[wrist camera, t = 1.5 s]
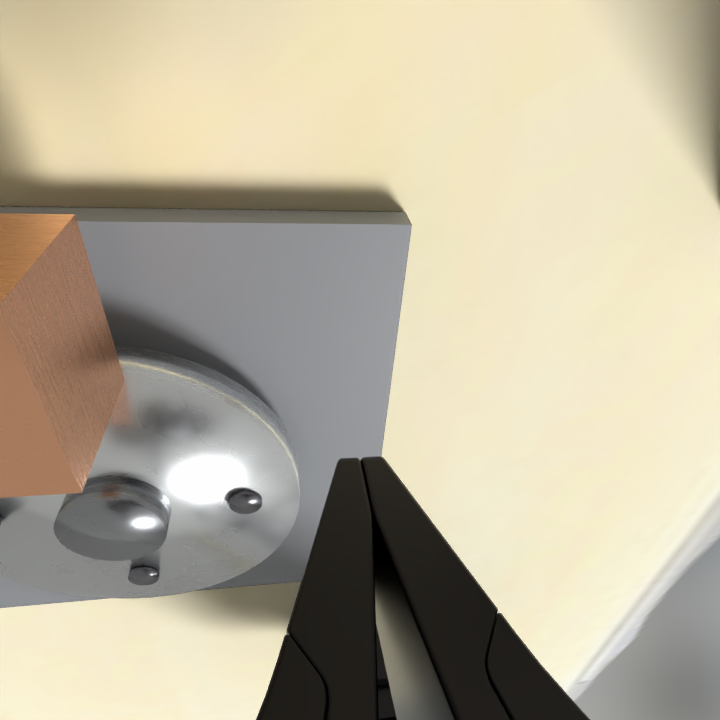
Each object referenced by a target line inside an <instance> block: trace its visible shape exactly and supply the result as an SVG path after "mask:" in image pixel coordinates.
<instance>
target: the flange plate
mask: <svg viewBox="0 0 720 720" xmlns="http://www.w3.org/2000/svg"><path fill="white" fill-rule="evenodd" d="M299 499H300V491H299V468H298V459H297V454H296V451H295V448H294V445H293V442H292V439H291V438H290V436H289V434H288V432H287V430H286V428H285V427H284V425H283V424H282V423H281V421H280V420H279V419H278V417H277V416H276V415H275V414H274V412H273V411H272V410H271V409H270V408H269V407H268V406H267V405H266V404H265V403H264V402H263V401H262V400H260V399H259V398H258V397H257V396H256V395H254V394H253V393H252V392H250V391H249V390H248V389H246V388H245V387H244V386H242V385H241V384H239V383H238V382H236V381H234V380H232V379H231V378H229V377H227V376H225V375H224V374H222V373H220V372H218V371H216V370H214V369H211V368H209V367H207V366H205V365H202V364H200V363H198V362H196V361H193V360H190V359H187V358H184V357H181V356H177V355H174V354H171V353H168V352H164V351H159V350H155V349H150V348H146V347H141V346H135V345H127V344H119V343H114V342H113V339H112V336H111V332H110V329H109V326H108V322H107V319H106V316H105V312H104V309H103V306H102V302H101V299H100V296H99V292H98V289H97V285H96V282H95V279H94V275H93V272H92V269H91V265H90V262H89V259H88V255H87V252H86V249H85V245H84V242H83V239H82V235H81V232H80V229H79V225H78V222H77V219H76V215H75V214H7V213H0V576H3V577H5V578H8V579H11V580H14V581H17V582H20V583H23V584H26V585H30V586H34V587H38V588H42V589H46V590H50V591H55V592H61V593H66V594H72V595H80V596H88V597H101V598H148V597H159V596H167V595H175V594H180V593H185V592H190V591H195V590H199V589H202V588H206V587H210V586H213V585H216V584H218V583H221V582H224V581H227V580H229V579H231V578H234V577H236V576H238V575H240V574H242V573H244V572H246V571H248V570H249V569H251V568H253V567H255V566H256V565H258V564H259V563H260V562H262V561H263V560H265V559H266V558H267V557H269V556H270V555H271V554H272V553H273V552H274V551H275V550H276V549H277V548H278V547H279V546H280V545H281V544H282V542H283V541H284V540H285V538H286V537H287V536H288V534H289V533H290V531H291V529H292V527H293V525H294V523H295V520H296V517H297V513H298V510H299Z"/></svg>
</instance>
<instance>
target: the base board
mask: <svg viewBox="0 0 720 720" xmlns="http://www.w3.org/2000/svg"><path fill="white" fill-rule="evenodd" d="M0 213H7V214H75V215H76V219H77V222H78V225H79V229H80V232H81V235H82V239H83V242H84V245H85V249H86V252H87V255H88V259H89V262H90V265H91V269H92V272H93V275H94V279H95V282H96V285H97V289H98V292H99V296H100V299H101V302H102V306H103V309H104V312H105V316H106V319H107V322H108V326H109V329H110V332H111V336H112V339H113V342H114V343H119V344H127V345H135V346H141V347H146V348H150V349H155V350H159V351H164V352H168V353H171V354H174V355H177V356H181V357H184V358H187V359H190V360H193V361H196V362H198V363H200V364H202V365H205V366H207V367H209V368H211V369H214V370H216V371H218V372H220V373H222V374H224V375H225V376H227V377H229V378H231V379H232V380H234V381H236V382H238V383H239V384H241V385H242V386H244V387H245V388H246V389H248V390H249V391H250V392H252V393H253V394H254V395H256V396H257V397H258V398H259V399H260V400H262V401H263V402H264V403H265V404H266V405H267V406H268V407H269V408H270V409H271V410H272V411H273V412H274V414H275V415H276V416H277V417H278V419H279V420H280V421H281V423H282V424H283V425H284V427H285V428H286V430H287V432H288V434H289V436H290V438H291V439H292V442H293V445H294V448H295V451H296V454H297V459H298V468H299V491H300V499H299V510H298V513H297V517H296V520H295V523H294V525H293V527H292V529H291V531H290V533H289V534H288V536H287V537H286V538H285V540H284V541H283V542H282V544H281V545H280V546H279V547H278V548H277V549H276V550H275V551H274V552H273V553H272V554H271V555H270V556H269V557H267V558H266V559H265V560H263V561H262V562H260V563H259V564H258V565H256V566H255V567H253V568H251V569H249V570H248V571H246V572H244V573H242V574H240V575H238V576H236V577H234V578H231V579H229V580H227V581H224V582H221V583H218V584H216V585H213V586H210V587H206V588H202V589H199V590H209V589H220V588H231V587H242V586H254V585H265V584H276V583H287V582H299V581H302V578H303V574H304V571H305V568H306V564H307V561H308V558H309V554H310V551H311V548H312V545H313V541H314V538H315V535H316V531H317V528H318V525H319V521H320V518H321V515H322V511H323V508H324V505H325V501H326V498H327V495H328V491H329V488H330V485H331V481H332V478H333V475H334V471H335V468H336V465H337V462H338V460H339V459H341V458H355V457H356V458H359V459H360V460H361V459H362V458H363V457H373V456H381V454H382V447H383V439H384V432H385V424H386V417H387V409H388V401H389V394H390V386H391V379H392V371H393V363H394V356H395V348H396V341H397V333H398V326H399V318H400V310H401V303H402V295H403V288H404V280H405V272H406V265H407V257H408V250H409V242H410V235H411V227H412V224H411V222H410V220H409V218H408V216H407V214H406V212H373V211H299V210H224V209H149V208H74V207H0ZM195 591H197V590H195ZM96 599H107V598H101V597H88V596H80V595H72V594H66V593H61V592H55V591H50V590H46V589H42V588H38V587H34V586H30V585H26V584H23V583H20V582H17V581H14V580H11V579H8V578H5V577H3V576H0V608H6V607H17V606H28V605H39V604H51V603H62V602H73V601H85V600H96Z"/></svg>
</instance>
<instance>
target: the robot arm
mask: <svg viewBox="0 0 720 720" xmlns="http://www.w3.org/2000/svg"><path fill="white" fill-rule="evenodd" d="M497 612H498V609H497V607H496V606H495V605H494V603H493V602H492V601H491V599H490V598H489V597H488V595H487V594H486V593H485V591H484V590H483V589H482V587H481V586H480V585H479V583H478V582H477V581H476V579H475V578H474V577H473V576H472V574H471V573H470V572H469V570H468V569H467V568H466V566H465V565H464V564H463V562H462V561H461V560H460V558H459V557H458V556H457V554H456V553H455V552H454V550H453V549H452V548H451V546H450V545H449V544H448V542H447V541H446V540H445V538H444V537H443V536H442V534H441V533H440V532H439V530H438V529H437V528H436V526H435V525H434V524H433V522H432V521H431V520H430V518H429V517H428V516H427V514H426V513H425V512H424V510H423V509H422V508H421V506H420V505H419V504H418V503H417V501H416V500H415V499H414V497H413V496H412V495H411V493H410V492H409V491H408V489H407V488H406V487H405V485H404V484H403V483H402V481H401V480H400V479H399V477H398V476H397V475H396V473H395V472H394V471H393V469H392V468H391V467H390V465H389V464H388V463H387V461H386V460H385V459H384V458H383V457H381V456H373V457H363V458H362V459H361V460H360V459H359V458H356V457H355V458H341V459H339V460H338V462H337V465H336V468H335V471H334V475H333V478H332V481H331V485H330V488H329V491H328V495H327V498H326V501H325V505H324V508H323V511H322V515H321V518H320V521H319V525H318V528H317V531H316V535H315V538H314V541H313V545H312V548H311V551H310V554H309V558H308V561H307V564H306V568H305V571H304V574H303V578H302V581H301V584H300V588H299V591H298V594H297V598H296V601H295V604H294V608H293V611H292V614H291V618H290V621H289V624H288V628H287V635H285V637H284V640H283V643H282V646H281V650H280V653H279V657H278V660H277V663H276V666H275V669H274V672H273V675H272V678H271V681H270V684H269V687H268V690H267V693H266V696H265V698H264V701H263V703H262V706H261V708H260V711H259V713H258V716H257V718H256V720H590V719H589V718H588V717H587V716H586V714H585V713H583V711H582V710H581V709H580V708H579V707H578V706H577V705H576V704H575V702H574V701H573V700H572V699H571V698H570V697H569V696H568V695H567V694H566V692H565V691H564V690H563V689H562V688H561V687H560V686H559V684H558V683H557V682H556V681H555V680H554V679H553V678H552V676H551V675H550V674H549V673H548V672H547V671H546V670H545V668H544V667H543V666H542V665H541V664H540V663H539V661H538V660H537V659H536V658H535V656H534V655H533V654H532V653H531V651H530V650H529V649H528V648H527V646H526V645H525V644H524V643H523V641H522V640H521V639H520V637H519V636H518V635H517V634H516V632H515V631H514V630H513V628H512V627H511V626H510V624H509V623H508V622H507V620H506V619H505V618H504V616H503V615H502V614H501V613H498V614H497Z"/></svg>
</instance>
